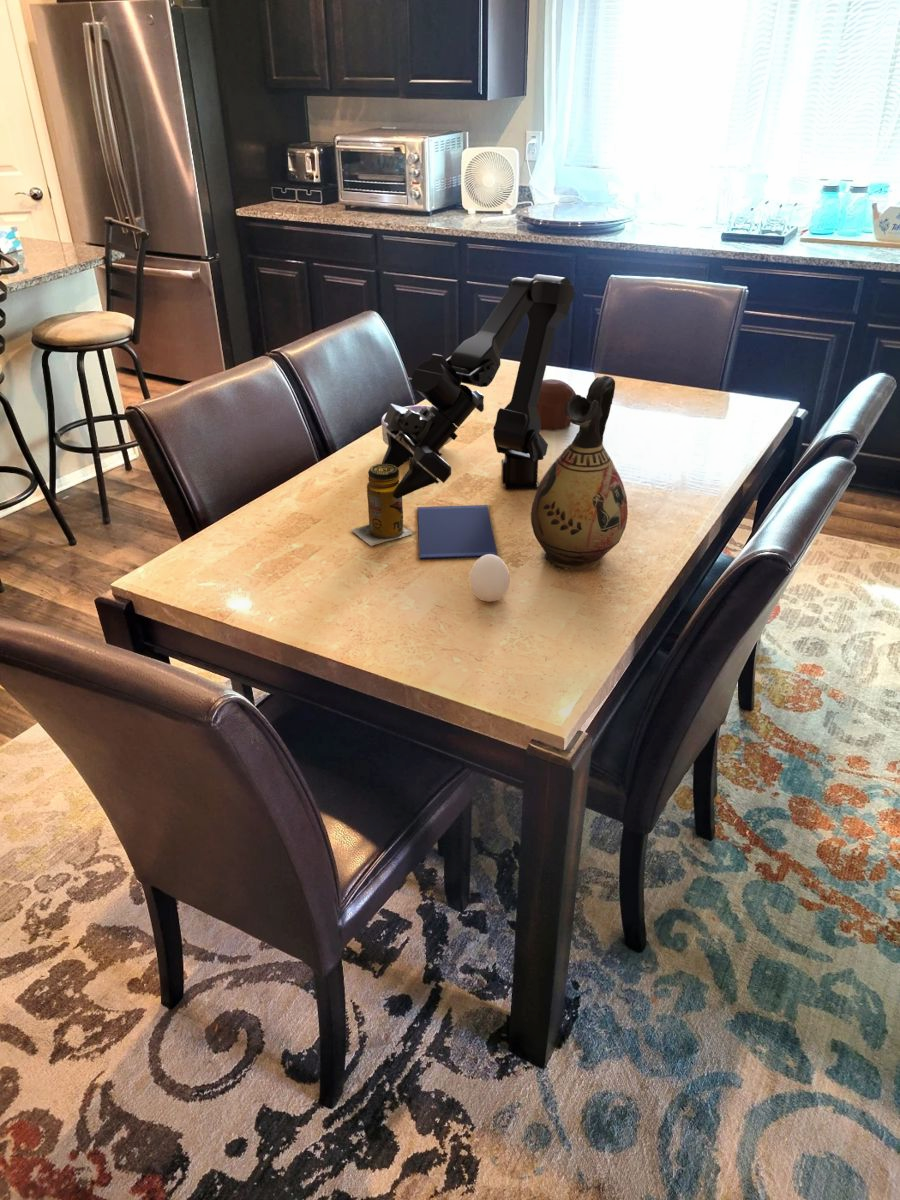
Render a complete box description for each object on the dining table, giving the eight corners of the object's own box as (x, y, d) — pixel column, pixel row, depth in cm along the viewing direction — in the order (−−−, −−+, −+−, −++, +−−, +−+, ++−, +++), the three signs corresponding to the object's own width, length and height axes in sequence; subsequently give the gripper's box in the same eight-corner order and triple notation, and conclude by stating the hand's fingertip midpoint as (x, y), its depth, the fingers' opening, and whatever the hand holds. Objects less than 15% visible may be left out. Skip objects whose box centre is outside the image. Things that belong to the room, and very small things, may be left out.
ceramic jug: (600, 590, 133) (617, 402, 117) (513, 565, 140) (518, 386, 124) (640, 546, 145) (660, 372, 129) (558, 526, 152) (568, 358, 137)
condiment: (413, 534, 150) (410, 470, 144) (371, 546, 146) (366, 482, 140) (392, 519, 155) (389, 457, 149) (351, 531, 151) (346, 468, 145)
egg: (474, 611, 128) (474, 567, 124) (465, 591, 133) (465, 548, 129) (513, 607, 129) (515, 563, 125) (503, 587, 134) (504, 544, 130)
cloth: (487, 506, 159) (487, 504, 159) (497, 557, 142) (497, 555, 142) (417, 509, 159) (417, 507, 159) (419, 559, 142) (419, 557, 142)
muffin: (583, 421, 199) (586, 379, 194) (562, 435, 191) (565, 392, 186) (538, 413, 205) (540, 371, 200) (516, 426, 197) (517, 383, 192)
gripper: (395, 372, 147) (337, 442, 149) (431, 404, 132) (367, 480, 134) (438, 411, 153) (383, 477, 156) (478, 445, 138) (416, 518, 141)
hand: (386, 486), depth 146 cm, fingers open, 9 cm apart
